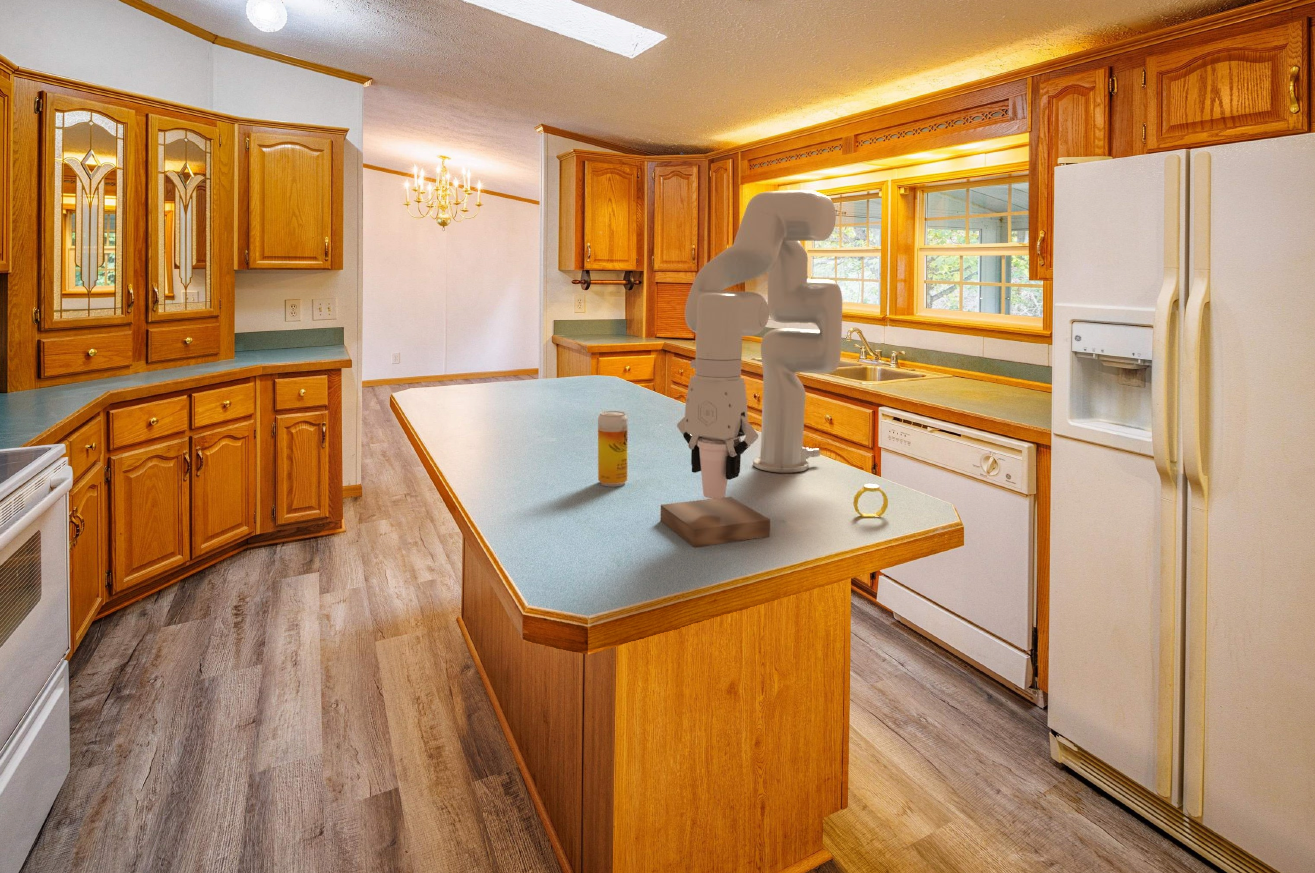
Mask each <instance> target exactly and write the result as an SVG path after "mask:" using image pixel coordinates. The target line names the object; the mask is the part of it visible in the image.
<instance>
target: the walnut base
mask: <svg viewBox="0 0 1315 873" xmlns="http://www.w3.org/2000/svg"><path fill="white" fill-rule="evenodd" d="M660 522H661V523H662V524H664V526H665V525H666V527H668V528H669V529H670V530H672V532H674V533H675V534H677V535H678V536H679V537H680V538H682V539H683V540H684V541H685V542H687V543H688V544H689V545H690V546H692V547H693V548H699V547H704V546H706V547H707V546H712V545H719V544H720V545H721V544H728V543H733V542H732V541H735V542H741V541H740V540H742V541H747V540H746V539H750V540H754V539H753V538H757V539H761V538H760V537H764V538H770V537H769V536H770V535H771V533H770V532H771V531H770V530H771V519H770V518H769V517H767V516H765V515H763V514H762V513H760V512H758V511H756V510H754V509H752V508H751V507H749V506H748V505H746V504H744V503H743V502H741V501H739V500H738V499H736V498H734V497H732V496H725V497H723V498H719V499H712V498H706V499H698V500H690V501H683V502H682V501H681V502H672V503H664V504H662V503H661V504H660ZM727 542H728V543H727Z"/></svg>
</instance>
